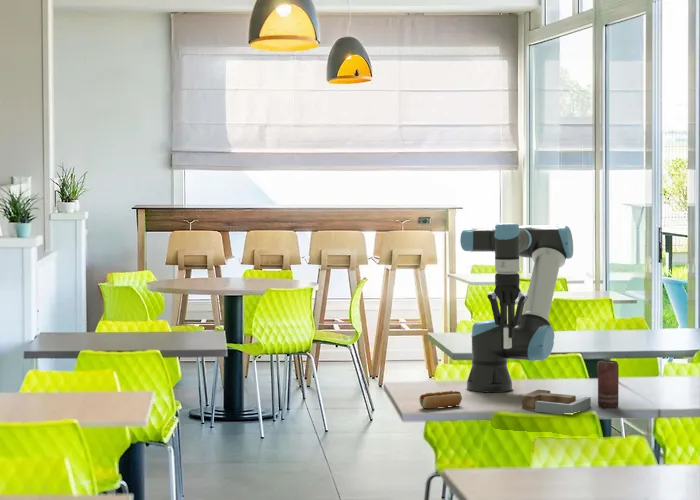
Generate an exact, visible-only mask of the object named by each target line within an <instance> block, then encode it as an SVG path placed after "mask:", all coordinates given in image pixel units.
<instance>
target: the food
mask: <svg viewBox="0 0 700 500" xmlns="http://www.w3.org/2000/svg"><path fill="white" fill-rule="evenodd" d="M462 400H463V397H462V393H461V392H460V391H455V390H447V391H446V390H445V391H436V392H425V393H423V394H421V395H420V396H419V404H420V407H424V408H438V407H448V406H455V407H457V406H456V405H458V406H460V404H461V402H462ZM424 408H423V409H424Z"/></svg>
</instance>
